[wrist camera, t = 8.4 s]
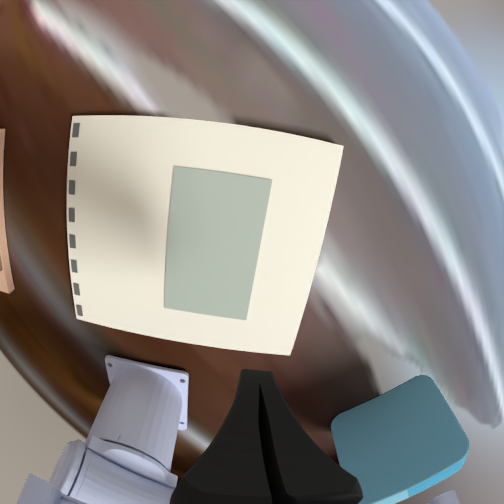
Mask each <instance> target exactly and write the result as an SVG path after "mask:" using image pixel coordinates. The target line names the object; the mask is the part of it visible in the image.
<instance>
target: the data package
mask: <svg viewBox="0 0 504 504" xmlns="http://www.w3.org/2000/svg"><path fill="white" fill-rule="evenodd" d="M331 431H332V435H333V439H334V443H335V447H336V451H337V455H338V459H339V463H340V467H342V468H343V469H344V470H346V471H347V472H349V473H350V474H352V475H353V476H355V477H356V478H357V479H358V481H359V483H360V486H361V488H362V492H363V499H362V500H361V501H360V502H359V503H358V504H395V503H397V502H399V501H402V500H404V499H406V498H408V497H411V496H413V495H415V494H417V493H419V492H421V491H423V490H425V489H427V488H429V487H431V486H433V485H435V484H437V483H438V482H440V481H442V480H444V479H446V478H448V477H449V476H451V475H453V474H454V473H456V472H457V471H459V470H460V468H461V467H462V466H463V464H464V462H465V459H466V456H467V453H468V450H469V446H470V445H469V440H468V438H467V436H466V434H465V432H464V431H463V429H462V427H461V425H460V424H459V422H458V420H457V419H456V417H455V415H454V413H453V412H452V410H451V408H450V407H449V405H448V404H447V402H446V400H445V399H444V397H443V395H442V394H441V392H440V391H439V389H438V387H437V386H436V384H435V383H434V381H433V380H432V379H431V378H430V377H428V376H425V375H420V376H416V377H414V378H412V379H410V380H409V381H407V382H405V383H403V384H401V385H399V386H398V387H396V388H394V389H392V390H390V391H388V392H386V393H384V394H382V395H380V396H378V397H376V398H374V399H371V400H369V401H367V402H365V403H363V404H361V405H358V406H356V407H354V408H352V409H349V410H347V411H345V412H342V413H340V414H339V415H337V416H336V417H335V418H334V420H333V421H332V423H331Z"/></svg>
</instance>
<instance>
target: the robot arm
mask: <svg viewBox="0 0 504 504" xmlns="http://www.w3.org/2000/svg"><path fill="white" fill-rule="evenodd" d="M105 364H106V369H107V374H108V378H109V383H110V387H109V389H108V391H107V393H106V396H105V398H104V400H103V402H102V404H101V407H100V409H99V411H98V414H97V416H96V418H95V421H94V423H93V425H92V428H91V430H90V432H89V435H88V437H87V440H86V442H85V443H84V442H82V441H81V440H76V441H71V442H69V443H68V444H67V445H66V447H65V449H64V450H63V452H62V454H61V455H60V458H59V459H58V461H57V464H56V466H55V468H54V471H53V473H52V476H51V478H50V481H49V482H46V481H44V480H43V479H41V478H39V477H37V476H35V475H33V474H29V475H28V477H27V479H26V482H25V484H24V487H23V489H22V491H21V494H20V497H19V499H18V502H17V504H358V503H359V502H360V501H361V500H362V499H363V492H362V488H361V486H360V483H359V481H358V479H357V478H356V477H355V476H353V475H352V474H350V473H349V472H347V471H346V470H344V469H343V468H342V467H340V466H339V465H338V464H337V463H336V462H334V461H333V460H332V459H331V458H330V457H329V456H328V455H327V454H326V453H324V452H323V451H322V450H321V449H320V448H319V447H318V446H317V445H316V443H315V442H314V441H313V440H312V439H311V438H310V437H309V435H308V434H307V433H306V432H305V430H304V429H303V428H302V426H301V425H300V424H299V422H298V421H297V419H296V418H295V416H294V415H293V413H292V411H291V410H290V408H289V406H288V405H287V403H286V401H285V399H284V397H283V395H282V393H281V391H280V389H279V387H278V385H277V383H276V381H275V378H274V376H273V373H272V372H269V371H258V370H248V369H243V370H241V373H240V378H239V383H238V388H237V392H236V397H235V400H234V402H233V405H232V407H231V409H230V411H229V413H228V415H227V417H226V419H225V421H224V423H223V425H222V427H221V428H220V430H219V432H218V433H217V435H216V436H215V438H214V439H213V441H212V442H211V444H210V445H209V446H208V448H207V449H206V450H205V452H204V453H203V454H202V455H201V457H200V458H199V459H198V460H197V461H196V463H195V464H194V465H193V466H192V467H191V468H190V469H189V470H188V471H187V472H186V473H185V474H184V475H183V477H182V478H181V480H180V481H179V483H178V485H177V486H176V483H177V476H176V475H174V474H172V473H170V469H171V464H172V458H173V452H174V447H175V441H176V436H177V431H178V429H179V430H186V429H187V407H188V379H189V375H188V373H187V372H185V371H181V370H175V369H170V368H164V367H159V366H154V365H150V364H145V363H140V362H136V361H132V360H127V359H123V358H119V357H115V356H111V355H107V356H106V357H105ZM182 379H184V380H182ZM427 504H460V502H459V500H458V497H457V495H456V493H455V491H454V490H450V491H448V492H446V493H443V494H441V495H439V496H437V497H435V498H433V499H432V500H430V501H429V502H428V503H427Z"/></svg>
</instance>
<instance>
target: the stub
mask: <svg viewBox="0 0 504 504" xmlns="http://www.w3.org/2000/svg"><path fill="white" fill-rule="evenodd" d="M4 140H5V129H0V291H2V292H5V293H8V294H9V293H11V292H12V291H13V290H14V289H15V288H14V284H13V278H12V273H11V267H10V261H9V254H8V247H7V239H6V230H5V218H4V201H3V157H4Z"/></svg>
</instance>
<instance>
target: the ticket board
mask: <svg viewBox="0 0 504 504" xmlns="http://www.w3.org/2000/svg"><path fill="white" fill-rule="evenodd" d="M343 147H344V146H341V145H337V144H333V143H329V142H325V141H321V140H317V139H312V138H308V137H303V136H298V135H294V134H289V133H284V132H278V131H273V130H267V129H262V128H256V127H249V126H243V125H236V124H229V123H221V122H213V121H204V120H194V119H183V118H171V117H155V116H129V115H89V116H72V124H71V132H70V142H69V154H68V170H67V236H68V253H69V265H70V275H71V284H72V291H73V299H74V305H75V312H76V318H77V319H80V320H83V321H87V322H91V323H95V324H99V325H103V326H107V327H111V328H115V329H120V330H124V331H128V332H133V333H138V334H142V335H147V336H152V337H157V338H163V339H168V340H173V341H179V342H185V343H191V344H197V345H204V346H210V347H217V348H225V349H232V350H240V351H249V352H258V353H268V354H279V355H290V354H291V351H292V348H293V345H294V342H295V339H296V335H297V332H298V329H299V326H300V322H301V319H302V315H303V312H304V309H305V305H306V302H307V298H308V295H309V291H310V288H311V284H312V280H313V277H314V273H315V269H316V266H317V262H318V258H319V254H320V250H321V246H322V242H323V238H324V234H325V230H326V226H327V222H328V217H329V213H330V209H331V204H332V200H333V196H334V191H335V186H336V182H337V177H338V172H339V167H340V162H341V157H342V152H343Z"/></svg>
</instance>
